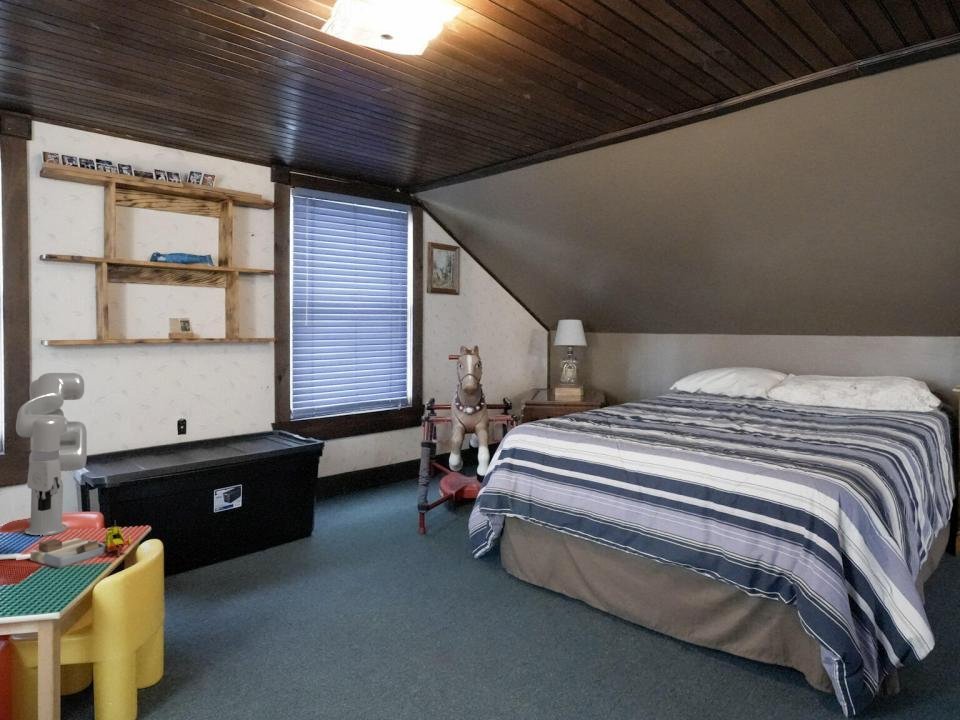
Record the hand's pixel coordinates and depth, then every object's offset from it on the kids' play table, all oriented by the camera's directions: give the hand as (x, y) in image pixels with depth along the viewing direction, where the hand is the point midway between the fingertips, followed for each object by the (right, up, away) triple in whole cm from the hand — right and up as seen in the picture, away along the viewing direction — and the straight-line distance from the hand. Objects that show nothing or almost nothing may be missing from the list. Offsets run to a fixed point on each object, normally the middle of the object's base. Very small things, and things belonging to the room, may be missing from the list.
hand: (44, 509), depth 203 cm
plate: (+6, -15, 0) cm, 16 cm away
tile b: (+4, -12, -3) cm, 13 cm away
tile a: (+14, -12, 0) cm, 18 cm away
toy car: (+19, -16, +7) cm, 26 cm away
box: (+12, -16, -3) cm, 20 cm away
